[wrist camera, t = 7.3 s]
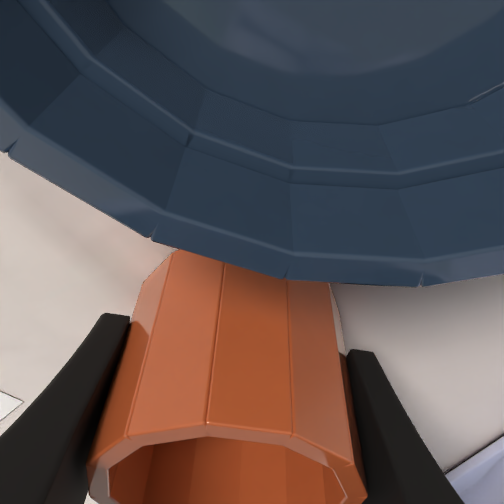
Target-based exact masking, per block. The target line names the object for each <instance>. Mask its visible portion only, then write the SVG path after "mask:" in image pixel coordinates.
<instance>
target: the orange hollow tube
mask: <svg viewBox="0 0 504 504" xmlns="http://www.w3.org/2000/svg"><path fill="white" fill-rule="evenodd" d="M85 465H86V474H87V483H88V491H89V496H90V497H91V498H92V499H93V500H94V501H96V502H97V503H98V504H362V503H363V502H364V501H365V500H366V499H367V495H368V491H367V485H366V478H365V472H364V466H363V460H362V453H361V447H360V441H359V434H358V428H357V422H356V415H355V409H354V403H353V396H352V390H351V384H350V378H349V371H348V365H347V359H346V352H345V346H344V340H343V333H342V327H341V321H340V315H339V310H338V307H337V304H336V301H335V298H334V295H333V292H332V289H331V286H330V283H323V282H305V281H288V280H286V279H285V278H284V279H283V280H280V279H276V278H273V277H270V276H267V275H263V274H260V273H257V272H253V271H250V270H247V269H243V268H240V267H237V266H233V265H230V264H227V263H223V262H220V261H217V260H213V259H210V258H207V257H203V256H200V255H197V254H194V253H190V252H187V251H184V250H177V251H175V252H174V253H171V254H170V255H169V257H168V258H167V259H166V260H165V261H164V262H163V263H162V264H161V265H160V266H159V267H158V268H157V269H156V270H155V271H154V272H153V273H152V274H151V275H150V276H149V277H148V278H147V279H146V280H145V281H144V282H143V284H142V287H141V290H140V293H139V296H138V299H137V302H136V306H135V309H134V312H133V315H132V318H131V321H130V325H129V328H128V331H127V335H126V338H125V341H124V344H123V347H122V350H121V353H120V357H119V359H118V362H117V366H116V369H115V372H114V375H113V378H112V381H111V384H110V388H109V391H108V394H107V397H106V400H105V403H104V407H103V410H102V413H101V416H100V419H99V422H98V425H97V429H96V432H95V435H94V438H93V441H92V444H91V448H90V451H89V454H88V457H87V460H86V463H85Z"/></svg>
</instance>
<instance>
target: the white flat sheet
mask: <svg viewBox="0 0 504 504" xmlns="http://www.w3.org/2000/svg"><path fill="white" fill-rule="evenodd" d="M21 403H22V401H20V400H18V399H16V398H13V397H11V396H9V395H7V394H4V393H2V392H0V420H1V419H3V418H4V417H5V416H6V415H7V414H9V413H10V412H11V411H12V410H14V409H15V408H16V407H17V406H19V405H20V404H21Z"/></svg>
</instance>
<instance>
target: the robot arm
mask: <svg viewBox="0 0 504 504" xmlns="http://www.w3.org/2000/svg"><path fill="white" fill-rule="evenodd" d="M129 325H130V316H124V315H117V314H110V313H104V314H102V315H101V316H100V318H99V319H98V321H97V322H96V324H95V325H94V327H93V328H92V330H91V331H90V333H89V334H88V336H87V337H86V338H85V340H84V341H83V342H82V344H81V345H80V346H79V348H78V349H77V350H76V352H75V353H74V354H73V356H72V357H71V358H70V359H69V361H68V362H67V363H66V364H65V366H64V367H63V368H62V369H61V370H60V372H59V373H58V374H57V375H56V376H55V378H54V379H53V380H52V381H51V382H50V384H49V385H48V386H47V387H46V388H45V389H44V391H43V392H42V393H41V394H40V395H39V396H38V397H37V398H36V399H35V400H34V401H33V403H32V404H31V405H30V406H29V407H28V408H27V409H26V410H25V411H24V412H23V414H22V415H21V416H20V417H19V418H18V419H17V420H16V421H15V422H14V423H13V424H12V425H11V426H10V427H9V428H8V429H7V430H6V431H5V432H4V433H3V434H2V435H1V436H0V504H84V502H85V499H86V496H87V493H88V483H87V474H86V465H85V463H86V460H87V457H88V454H89V451H90V448H91V444H92V441H93V438H94V435H95V432H96V429H97V425H98V422H99V419H100V416H101V413H102V410H103V407H104V403H105V400H106V397H107V394H108V391H109V388H110V384H111V381H112V378H113V375H114V372H115V369H116V366H117V362H118V359H119V357H120V353H121V350H122V347H123V344H124V341H125V338H126V335H127V331H128V328H129ZM346 359H347V365H348V371H349V378H350V384H351V390H352V396H353V403H354V409H355V415H356V422H357V428H358V434H359V441H360V447H361V453H362V460H363V466H364V472H365V478H366V485H367V491H368V495H367V499H366V500H365V501H364V502H363V503H362V504H504V436H503V437H501V438H500V439H498V440H497V441H495V442H494V443H492V444H491V445H489V446H488V447H486V448H485V449H483V450H482V451H480V452H479V453H477V454H476V455H474V456H473V457H471V458H470V459H468V460H467V461H465V462H464V463H462V464H461V465H459V466H458V467H456V468H455V469H453V470H452V471H451V472H449V473H448V474H446V475H444V473H443V472H442V470H441V469H440V467H439V466H438V464H437V462H436V461H435V459H434V458H433V456H432V455H431V453H430V452H429V450H428V448H427V447H426V445H425V444H424V442H423V440H422V439H421V437H420V435H419V434H418V432H417V430H416V429H415V427H414V425H413V424H412V422H411V420H410V418H409V417H408V415H407V413H406V412H405V410H404V408H403V406H402V404H401V403H400V401H399V399H398V397H397V395H396V394H395V392H394V390H393V388H392V386H391V384H390V383H389V381H388V379H387V377H386V375H385V373H384V371H383V369H382V367H381V366H380V364H379V362H378V360H377V358H376V356H375V355H374V353H373V352H369V351H362V350H355V349H350V351H349V353H348V355H347V357H346Z"/></svg>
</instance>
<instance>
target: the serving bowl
mask: <svg viewBox="0 0 504 504" xmlns="http://www.w3.org/2000/svg"><path fill="white" fill-rule="evenodd" d="M0 151H1V152H3V153H7V152H8V157H9V158H10V159H12V160H14V161H15V162H17V163H19V164H20V165H22V166H24V167H26V168H27V169H29V170H31V171H32V172H34V173H36V174H38V175H39V176H41V177H43V178H44V179H46V180H48V181H50V182H51V183H53V184H55V185H56V186H58V187H60V188H62V189H63V190H65V191H67V192H68V193H70V194H72V195H74V196H75V197H77V198H79V199H80V200H82V201H84V202H86V203H87V204H89V205H91V206H92V207H94V208H96V209H98V210H99V211H101V212H103V213H104V214H106V215H108V216H110V217H111V218H113V219H115V220H116V221H118V222H120V223H122V224H123V225H125V226H127V227H128V228H130V229H132V230H134V231H135V232H137V233H139V234H140V235H142V236H144V237H146V238H149V237H151V240H152V241H154V242H157V243H160V244H164V245H167V246H170V247H174V248H177V249H180V250H184V251H187V252H190V253H194V254H197V255H200V256H203V257H207V258H210V259H213V260H217V261H220V262H223V263H227V264H230V265H233V266H237V267H240V268H243V269H247V270H250V271H253V272H257V273H260V274H263V275H267V276H270V277H273V278H276V279H280V280H283V279H284V278H285V279H286V280H288V281H305V282H323V283H341V284H358V285H376V286H394V287H412V288H417V287H419V286H420V285H421V286H422V287H430V286H436V285H442V284H448V283H454V282H460V281H467V280H473V279H479V278H485V277H491V276H497V275H504V0H0Z"/></svg>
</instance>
